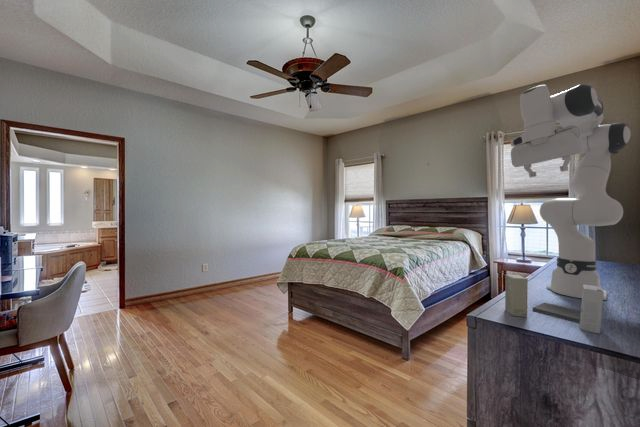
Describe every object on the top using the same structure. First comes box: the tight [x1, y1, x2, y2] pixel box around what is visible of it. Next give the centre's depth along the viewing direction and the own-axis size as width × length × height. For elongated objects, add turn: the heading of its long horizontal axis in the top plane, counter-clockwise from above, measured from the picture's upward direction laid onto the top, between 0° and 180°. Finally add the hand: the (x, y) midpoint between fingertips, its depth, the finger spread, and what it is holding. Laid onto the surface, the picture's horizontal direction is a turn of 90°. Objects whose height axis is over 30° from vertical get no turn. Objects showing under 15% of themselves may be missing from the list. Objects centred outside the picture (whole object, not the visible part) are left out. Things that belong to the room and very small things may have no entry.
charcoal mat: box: [532, 302, 581, 324], centre depth 97 cm, size 10×12×1 cm
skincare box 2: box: [579, 285, 604, 334], centre depth 84 cm, size 6×4×12 cm
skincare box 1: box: [504, 273, 529, 318], centre depth 96 cm, size 6×4×12 cm
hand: (548, 174), depth 100 cm, fingers open, 8 cm apart
